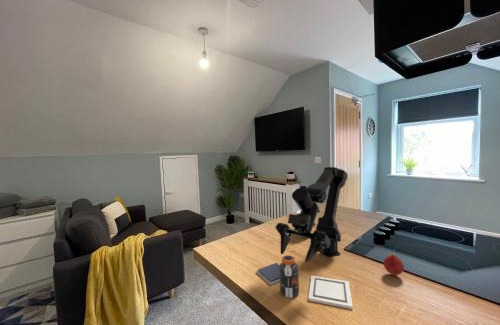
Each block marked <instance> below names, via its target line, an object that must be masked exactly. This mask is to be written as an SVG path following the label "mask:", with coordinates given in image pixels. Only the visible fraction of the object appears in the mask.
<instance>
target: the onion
mask: <svg viewBox="0 0 500 325" xmlns="http://www.w3.org/2000/svg"><path fill="white" fill-rule="evenodd" d="M383 266H384V269H385V270H386V271H387V273H389V274H390V275H392V277H396V276H398V275H401V274H402V273H403V272H404V269H405V267H404V263H403V262H402V260H401V259H400V258H399V257H398V256H396V254H395V253H391V254H389V255H387V256H386V257H385V258H384V260H383Z"/></svg>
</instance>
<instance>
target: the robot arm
mask: <svg viewBox="0 0 500 325" xmlns="http://www.w3.org/2000/svg"><path fill="white" fill-rule="evenodd" d="M347 180H348V173H347V171H346V170H345V169H344V170H343V169H340V168H338V167H335V166H325V167H324V168H323V171H322V173H321V174H320V176H319V177H318V178H317V180H316V181H315V182H314V183H312V184H309V185H308V186H306V185H300V187H299V188H296V189H295V190H294V191H293V192H292V193H291V197H292V200H293V201H294V202H295V204H296V206H297V207H298V208H299V210H301V212H300V214H297V215H296V214H293V213H292V214H291V213H289V214H288V220H287V223H284V222H278V223H276V225H275V227H274V228H275V230H276V231H277V233H278V234H279V235H280V255H284V253H285V252H286V250H287V247H288V245H289V243H290V240H291V237H292V235H293V236H296V237H297V236H300V238H305V239H309V240H310V245H309V247H308V250H307V253H306V255H305V260H304V262H305V263H306V264H307V263H308V262H310V261H311V260H312V259H313V257H315V256H316V254H317V253H319V252H320V253H321V254H323V255H324V256H326V257H329V258H330V257H333V256H340V255H341V252H339V249H338V243H341V238H342V234H341V231H339V229H338V225H339V224H337V221H336V216H337V215H336V214H337V209H338V203H339V198H340V193H341V190H342V188H344V186H346V182H347ZM328 187H329V189H328ZM327 189H328V193H327ZM325 200H326V203H325V207H324V208H325V209H324V213H323V215H322V217H321V216H319V217H318V219H317V223H315V221H316V218H317V215H318V214H319V213H320V212H321V211H320V208H319V205H318V204H323V203H324V202H325ZM288 224H289V225H290V224H291V226H292V228H291V227H290V226H289V225H288ZM315 226H316V227H315ZM313 227H314V228H315V230H314V231H313V232H312V230H313Z"/></svg>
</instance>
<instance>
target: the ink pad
mask: <svg viewBox="0 0 500 325" xmlns="http://www.w3.org/2000/svg"><path fill="white" fill-rule="evenodd" d="M256 274H257V275H259V276H260V277H261V278H262V279H263V280H264V281H265V282H266V283H267V284H269V285H270V286H273V285H275V284H278V283H280V264H279V263H278V262H275V263H272V264H270V265H267V266H264V267H260V268H259V269H257V270H256Z"/></svg>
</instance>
